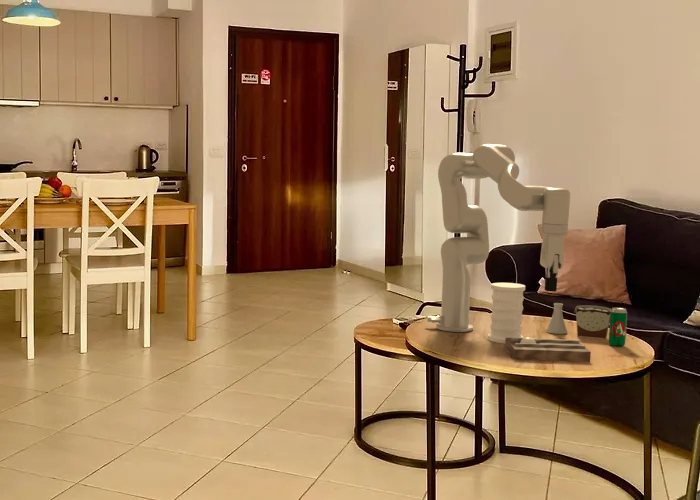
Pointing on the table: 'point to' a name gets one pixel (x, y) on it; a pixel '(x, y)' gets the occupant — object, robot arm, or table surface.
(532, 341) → the ball
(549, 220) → the robot arm
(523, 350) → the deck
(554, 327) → the flask
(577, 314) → the food container
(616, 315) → the soda can
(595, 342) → the table surface
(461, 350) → the table surface
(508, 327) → the decorative container
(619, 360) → the table surface
